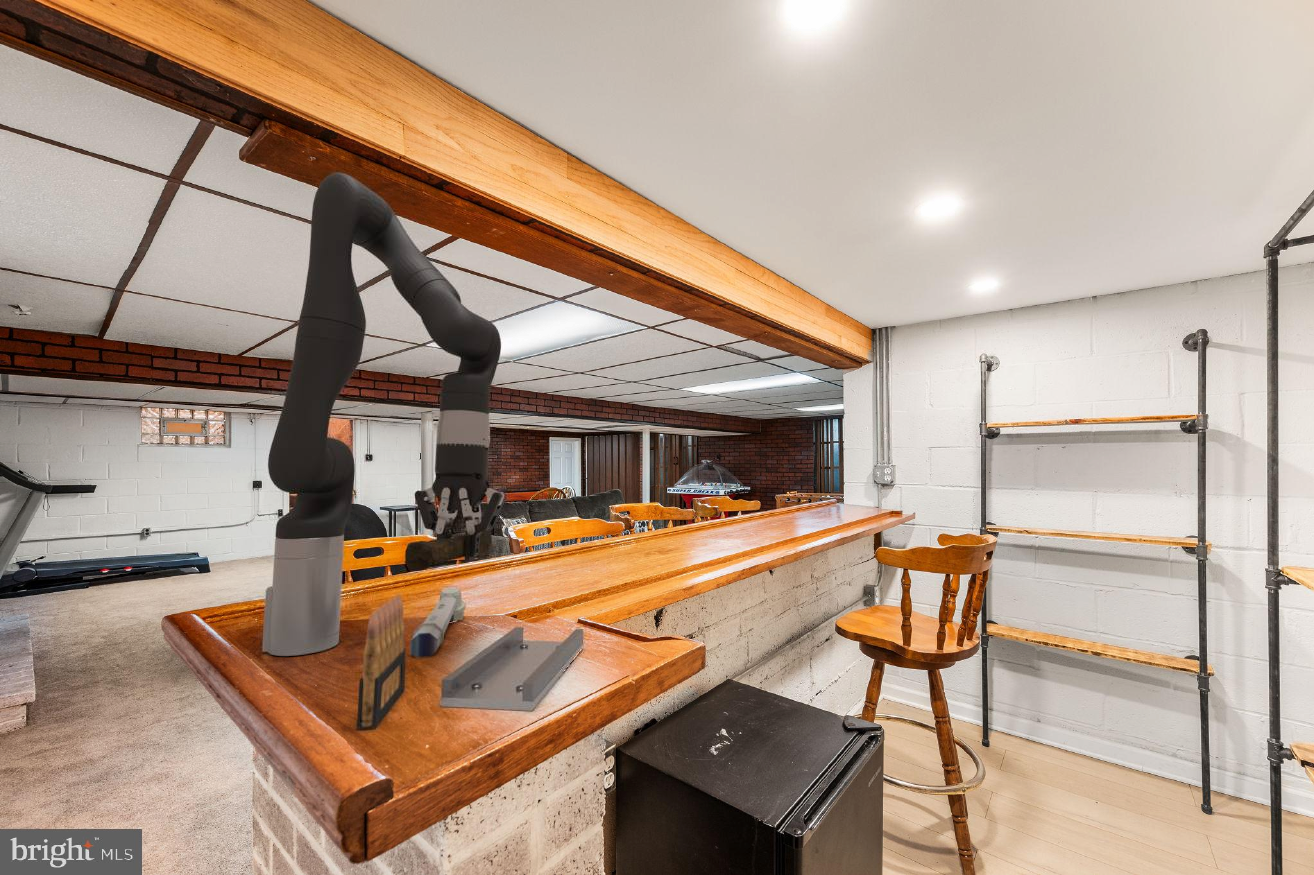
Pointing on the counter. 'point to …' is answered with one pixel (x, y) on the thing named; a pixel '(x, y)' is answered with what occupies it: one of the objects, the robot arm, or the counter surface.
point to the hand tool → (442, 551)
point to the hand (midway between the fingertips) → (457, 559)
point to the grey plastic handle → (437, 623)
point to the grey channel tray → (510, 673)
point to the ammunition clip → (382, 665)
